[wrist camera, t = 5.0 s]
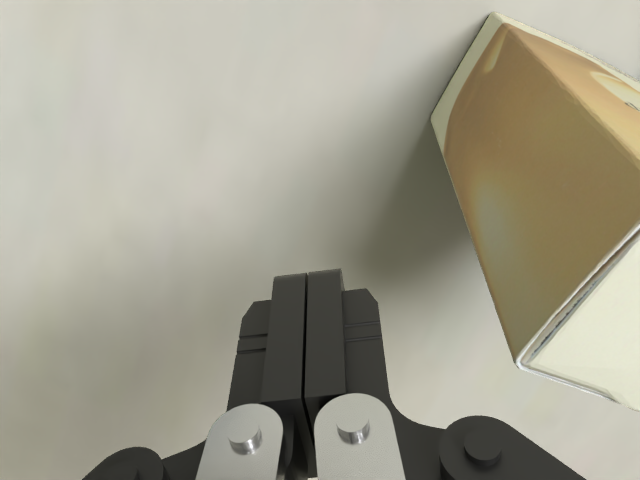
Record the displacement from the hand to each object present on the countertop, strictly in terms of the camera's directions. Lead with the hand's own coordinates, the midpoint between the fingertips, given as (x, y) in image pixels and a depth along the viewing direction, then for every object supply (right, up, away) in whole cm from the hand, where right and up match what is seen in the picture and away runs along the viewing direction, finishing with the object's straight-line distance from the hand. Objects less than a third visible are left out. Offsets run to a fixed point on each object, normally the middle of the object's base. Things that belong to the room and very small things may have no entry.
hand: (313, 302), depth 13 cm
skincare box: (+7, +7, +7) cm, 12 cm away
